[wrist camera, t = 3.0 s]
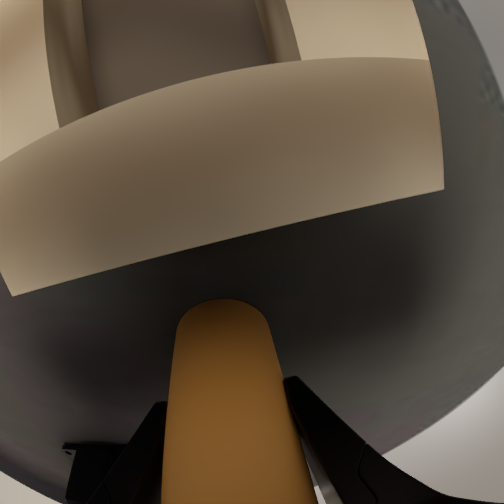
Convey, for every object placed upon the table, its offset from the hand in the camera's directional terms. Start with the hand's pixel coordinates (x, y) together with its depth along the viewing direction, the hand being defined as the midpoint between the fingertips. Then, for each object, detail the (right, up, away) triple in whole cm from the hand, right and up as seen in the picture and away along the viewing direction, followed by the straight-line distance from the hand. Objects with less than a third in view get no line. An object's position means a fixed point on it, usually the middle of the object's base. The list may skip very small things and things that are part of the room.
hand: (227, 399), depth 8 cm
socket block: (-2, +11, -2) cm, 11 cm away
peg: (0, +1, +3) cm, 3 cm away
